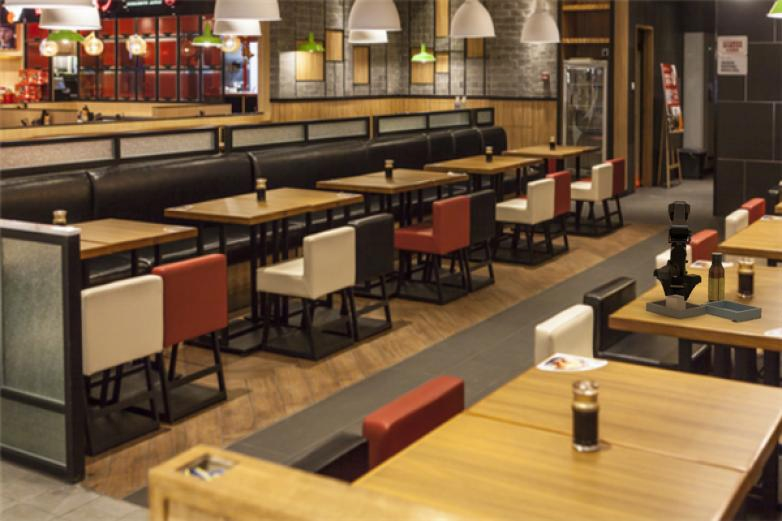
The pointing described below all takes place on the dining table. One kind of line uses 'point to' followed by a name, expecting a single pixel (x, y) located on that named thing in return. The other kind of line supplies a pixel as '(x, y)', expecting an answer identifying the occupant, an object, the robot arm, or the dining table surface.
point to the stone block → (675, 302)
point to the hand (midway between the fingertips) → (676, 298)
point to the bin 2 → (732, 310)
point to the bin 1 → (661, 308)
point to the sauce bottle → (716, 279)
